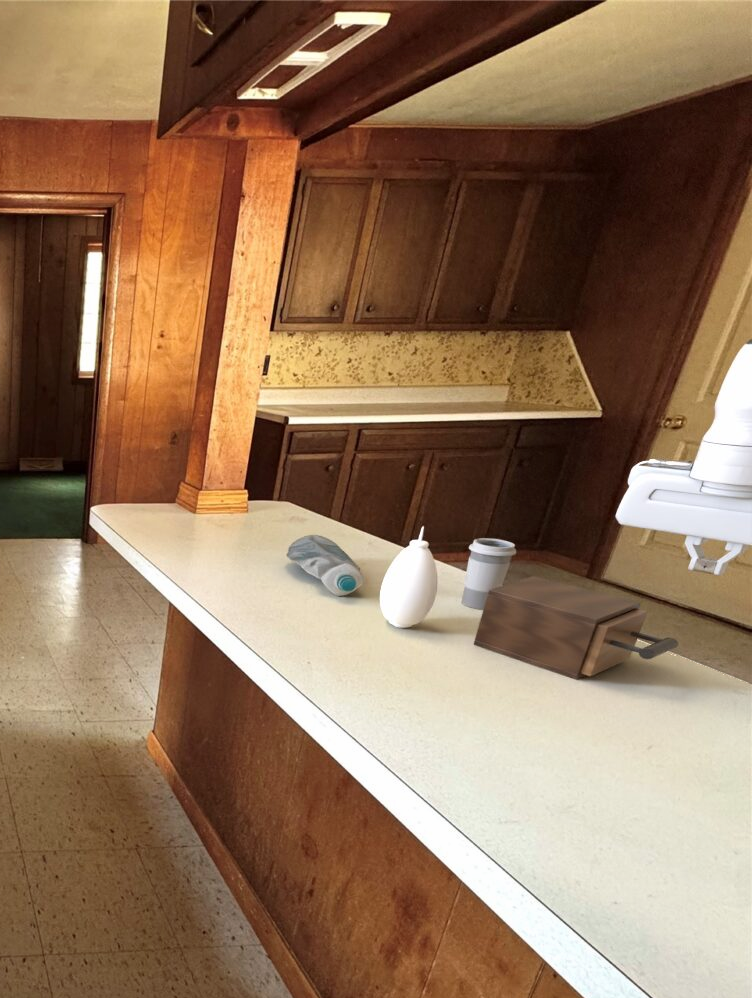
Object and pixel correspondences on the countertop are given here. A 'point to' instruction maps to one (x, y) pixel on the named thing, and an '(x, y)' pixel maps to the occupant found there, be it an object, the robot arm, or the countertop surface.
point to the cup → (485, 569)
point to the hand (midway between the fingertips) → (705, 572)
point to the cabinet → (546, 622)
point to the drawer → (622, 642)
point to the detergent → (326, 563)
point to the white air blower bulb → (409, 585)
